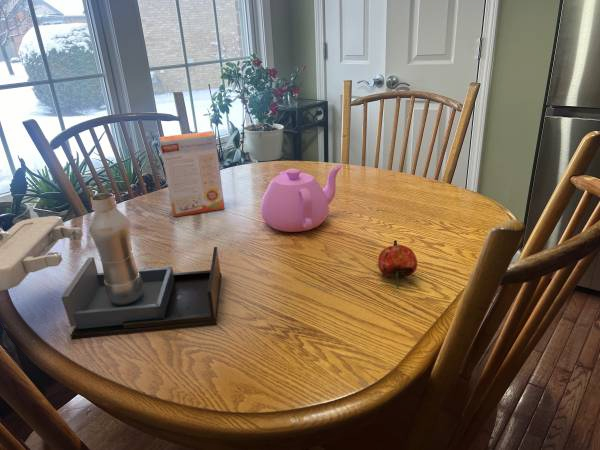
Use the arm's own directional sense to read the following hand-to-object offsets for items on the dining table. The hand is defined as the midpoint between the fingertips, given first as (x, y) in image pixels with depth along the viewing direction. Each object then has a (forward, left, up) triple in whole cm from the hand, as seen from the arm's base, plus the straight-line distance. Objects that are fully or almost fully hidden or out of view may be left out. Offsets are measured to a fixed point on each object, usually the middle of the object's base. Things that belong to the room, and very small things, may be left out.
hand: (71, 245), depth 74 cm
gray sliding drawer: (+5, -4, -13) cm, 14 cm away
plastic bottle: (+6, -4, -12) cm, 14 cm away
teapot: (+54, -3, -14) cm, 56 cm away
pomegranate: (+45, -36, -14) cm, 59 cm away
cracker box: (+41, +25, -14) cm, 50 cm away
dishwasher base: (+9, -7, -14) cm, 18 cm away
